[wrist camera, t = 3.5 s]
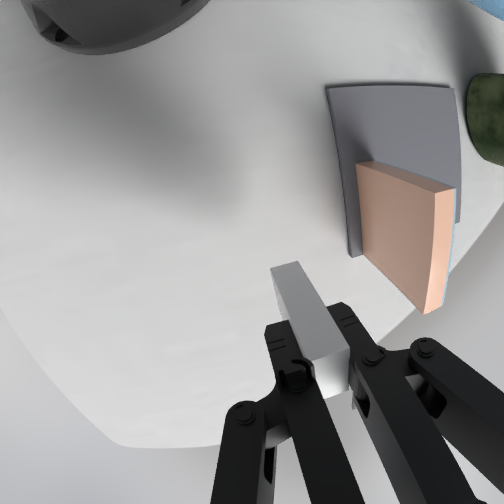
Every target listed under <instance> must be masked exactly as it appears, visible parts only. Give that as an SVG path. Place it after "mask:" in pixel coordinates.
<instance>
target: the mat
mask: <svg viewBox="0 0 504 504" xmlns="http://www.w3.org/2000/svg"><path fill="white" fill-rule="evenodd" d="M326 92H327V97H328V101H329V106H330V111H331V116H332V121H333V126H334V132H335V137H336V143H337V149H338V155H339V162H340V168H341V175H342V183H343V191H344V199H345V208H346V217H347V228H348V239H349V253H350V256H351V257H352V258H354V257H357V256H360V255H363V243H362V226H361V212H360V201H359V191H358V182H357V173H356V165H355V164H356V163H361V162H367V161H372V160H376V161H379V162H383V163H386V164H389V165H393V166H396V167H399V168H402V169H405V170H408V171H411V172H414V173H417V174H420V175H423V176H426V177H429V178H431V179H434V180H437V181H440V182H442V183H445V184H447V185H450V186H453V187H455V188H456V212H455V224H456V223H458V222H460V209H461V148H460V133H459V123H458V114H457V106H456V99H455V93H454V89H453V88H442V87H429V86H403V85H380V86H354V87H339V88H328V89H326Z"/></svg>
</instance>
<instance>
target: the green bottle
mask: <svg viewBox="0 0 504 504" xmlns="http://www.w3.org/2000/svg"><path fill="white" fill-rule="evenodd" d="M467 121H468V125H469V129H470V134H471V137H472V140H473V143H474V145H475V147H476V149H477V150H478V152H479V154H480V156H481V157H482V158H483V159H484V160H487V161H489V162H491V163H494V164H497V165H500V166H503V167H504V74H494V73H482V74H479V75H476V76H475V77H474V78H473V79H472V82H471V84H470V86H469V89H468V94H467Z"/></svg>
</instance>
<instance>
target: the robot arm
mask: <svg viewBox="0 0 504 504" xmlns="http://www.w3.org/2000/svg"><path fill="white" fill-rule="evenodd" d="M20 1H21V3H22V4H23V6H24V8H25V10H26V12H27V13H28V15H29V17H30V19H31V20H32V22H33V24H34V26H35V27H36V29H37V31H38V32H39V33H40V35H41V36H42V37H43V38H45V39H46V40H47V41H49V42H50V43H52V44H54V45H56V46H58V47H61V48H63V49H65V50H67V51H70V52H73V53H78V54H84V55H102V54H110V53H116V52H120V51H124V50H128V49H131V48H135V47H137V46H140V45H143V44H146V43H148V42H150V41H153V40H155V39H157V38H159V37H161V36H163V35H165V34H167V33H169V32H171V31H172V30H174V29H175V28H177V27H179V26H180V25H182V24H183V23H185V22H186V21H187V20H189V19H190V18H191V17H193V16H194V15H195V14H196V13H198V12H199V11H200V10H201V9H202V8H203V7H204V6H205V5H206V4H207V3H208V2H209V1H210V0H20ZM469 1H470V2H472V3H473V4H475V5H476V6H478V7H479V8H481V9H482V10H484V11H486V12H487V13H489V14H491V15H493V16H495V17H497V18H499V19H501V20H503V21H504V0H469ZM270 271H271V275H272V280H273V284H274V288H275V293H276V297H277V302H278V306H279V310H280V312H281V315H282V318H283V321H281V322H277V323H274V324H270V325H267V326H266V330H265V333H264V336H265V340H266V343H267V347H268V351H269V355H270V358H271V362H272V366H273V369H274V373H275V379H276V384H275V387H274V389H273V390H272V392H271V393H270V394H269V395H267V396H266V397H264V398H263V399H261V400H259V401H257V402H254V401H241V402H238V403H236V404H235V405H233V406H232V407H231V408H230V409H229V410H228V412H227V415H226V418H225V424H224V429H223V435H222V441H221V446H220V452H219V458H218V463H217V469H216V474H215V480H214V485H213V491H212V496H211V502H210V504H273V501H274V488H275V473H276V456H277V445H278V444H280V443H282V442H283V441H285V440H287V439H288V438H290V437H292V438H293V442H294V445H295V449H296V452H297V456H298V459H299V463H300V466H301V470H302V473H303V477H304V480H305V484H306V487H307V490H308V494H309V497H310V501H311V504H365V502H364V500H363V497H362V494H361V492H360V489H359V486H358V484H357V481H356V479H355V476H354V474H353V471H352V469H351V466H350V464H349V461H348V458H347V456H346V453H345V451H344V448H343V446H342V443H341V441H340V438H339V436H338V433H337V431H336V428H335V426H334V423H333V421H332V418H331V416H330V413H329V411H328V408H327V406H326V403H325V401H324V399H325V398H328V397H331V396H334V395H336V394H340V393H342V392H345V391H347V390H349V385H350V387H351V389H352V390H353V398H352V408H353V409H355V406H356V407H357V409H358V411H359V413H360V415H361V418H362V420H363V422H364V424H365V426H366V428H367V431H368V433H369V435H370V437H371V439H372V441H373V444H374V446H375V448H376V450H377V452H378V454H379V457H380V459H381V461H382V463H383V466H384V468H385V470H386V473H387V475H388V477H389V479H390V482H391V484H392V486H393V489H394V491H395V493H396V495H397V498H398V500H399V502H400V504H487V503H486V502H484V501H481V500H478V499H477V498H476V497H475V495H474V493H473V491H472V489H471V488H470V486H469V484H468V482H467V480H466V478H465V476H464V474H463V472H462V471H461V468H460V467H459V465H458V463H457V461H456V459H455V458H454V456H453V454H452V453H451V451H450V449H449V447H448V445H447V444H446V442H445V440H444V438H445V439H446V440H448V442H450V443H451V444H452V445H453V446H454V447H455V448H456V449H457V450H458V451H459V452H460V453H461V454H462V455H463V456H464V457H465V458H466V459H467V460H468V461H469V462H470V463H471V464H472V465H474V466H475V467H476V468H477V469H478V470H479V471H480V472H481V473H482V474H483V475H484V476H485V477H486V478H487V479H488V480H489V481H490V482H491V483H492V484H493V485H494V486H495V487H496V488H498V489H499V490H500V491H501V492H502V493H503V494H504V393H503V392H502V391H501V390H500V389H498V388H497V387H496V386H494V385H493V384H492V383H491V382H489V381H488V380H487V379H486V378H484V377H483V376H482V375H480V374H479V373H478V372H477V371H475V370H474V369H473V368H471V367H470V366H469V365H468V364H466V363H465V362H464V361H462V360H461V359H460V358H459V357H457V356H456V355H454V354H453V353H452V352H451V351H449V350H448V349H447V348H445V347H444V346H442V345H441V344H440V343H439V342H437V341H436V340H434V339H432V338H426V337H425V338H419V339H417V340H415V341H414V342H413V343H412V344H411V346H410V349H405V350H398V351H388V350H386V349H385V348H383V347H381V346H377V345H376V343H375V342H374V341H373V339H372V338H371V336H370V335H369V333H368V332H367V330H366V329H365V328H364V326H363V325H362V323H361V322H360V320H359V319H358V317H357V316H356V315H355V313H354V312H353V310H352V309H351V307H349V306H348V305H346V304H344V303H342V302H340V303H337V304H334V305H331V306H327V307H326V306H325V305H324V303H323V301H322V300H321V298H320V296H319V295H318V293H317V291H316V290H315V288H314V287H313V285H312V283H311V282H310V280H309V278H308V277H307V275H306V273H305V272H304V270H303V269H302V267H301V265H300V264H299V262H298V261H295V262H291V263H288V264H284V265H281V266H277V267H274V268H270ZM442 436H443V437H444V438H443V437H442Z"/></svg>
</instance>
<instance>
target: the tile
mask: <svg viewBox="0 0 504 504" xmlns="http://www.w3.org/2000/svg"><path fill="white" fill-rule="evenodd" d="M355 165H356V173H357V182H358V191H359V201H360V212H361V226H362V243H363V255H364V256H365V257H366V258H367V259H368V260H369V261H370V262H371V263H372V264H373V265H375V266H376V267H377V268H378V269H379V270H380V271H381V272H382V273H383V274H384V275H385V276H386V277H387V278H388V279H389V280H390V281H391V282H392V283H393V284H394V285H395V286H396V287H397V288H398V289H399V290H400V291H401V292H402V293H403V294H404V295H405V296H406V297H407V298H408V299H409V300H410V302H411V303H412V304H413V305H414V306H415V307H416V308H417V309H418V310H419V311H420V312H421V313H422V314H423V315H424V314H426V313H429V312H431V311H432V310H435V309H436V308H438V307H440V306H442V305H443V301H444V297H445V292H446V286H447V281H448V275H449V269H450V262H451V255H452V247H453V238H454V227H455V212H456V188H455V187H453V186H450V185H447V184H445V183H442V182H440V181H437V180H434V179H431V178H429V177H426V176H423V175H420V174H417V173H414V172H411V171H408V170H405V169H402V168H399V167H396V166H393V165H389V164H386V163H383V162H379V161H376V160H372V161H367V162H361V163H356V164H355Z"/></svg>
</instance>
